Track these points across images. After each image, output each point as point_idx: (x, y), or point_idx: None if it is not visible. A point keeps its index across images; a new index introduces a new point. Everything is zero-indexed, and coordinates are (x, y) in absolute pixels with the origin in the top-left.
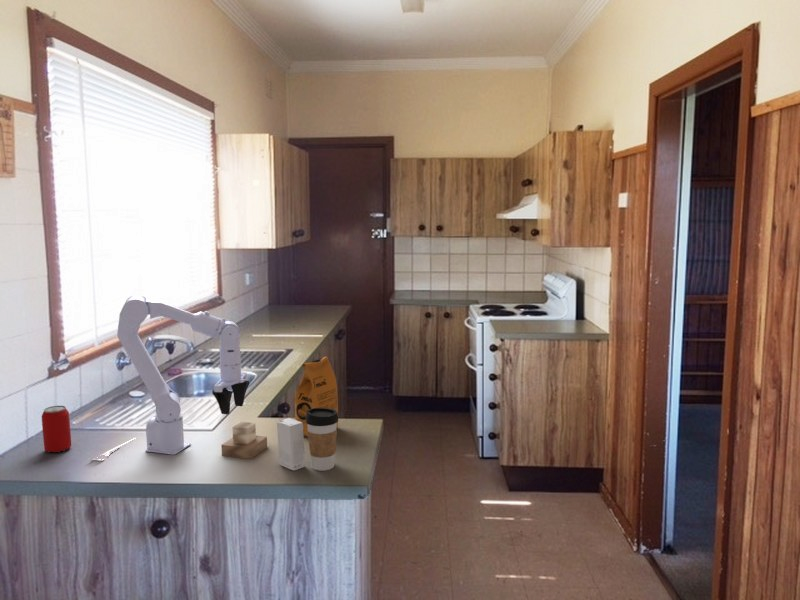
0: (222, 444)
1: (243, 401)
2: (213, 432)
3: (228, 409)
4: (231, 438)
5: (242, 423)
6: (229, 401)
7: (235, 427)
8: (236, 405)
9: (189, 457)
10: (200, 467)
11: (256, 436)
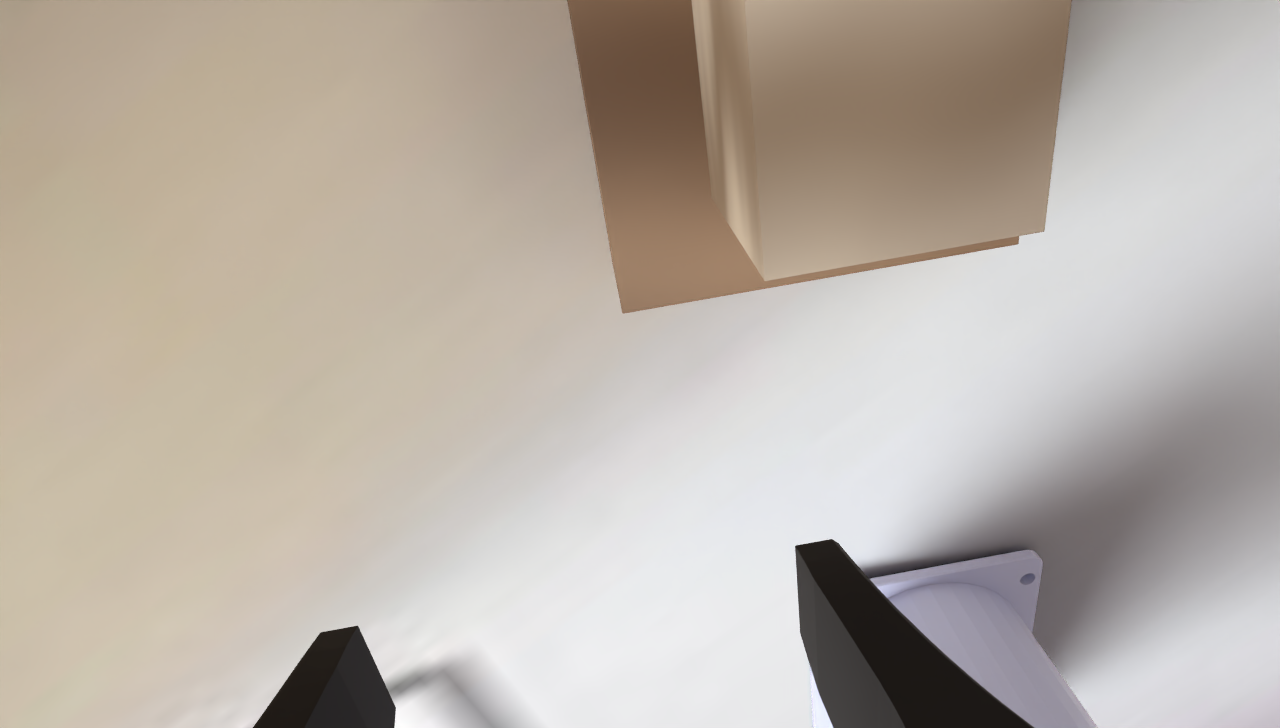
0: (1004, 241)
1: (287, 690)
2: (482, 635)
3: (879, 592)
4: (797, 278)
5: (841, 193)
6: (954, 723)
7: (1047, 175)
8: (387, 702)
9: (1052, 426)
10: (1269, 187)
11: (607, 9)
